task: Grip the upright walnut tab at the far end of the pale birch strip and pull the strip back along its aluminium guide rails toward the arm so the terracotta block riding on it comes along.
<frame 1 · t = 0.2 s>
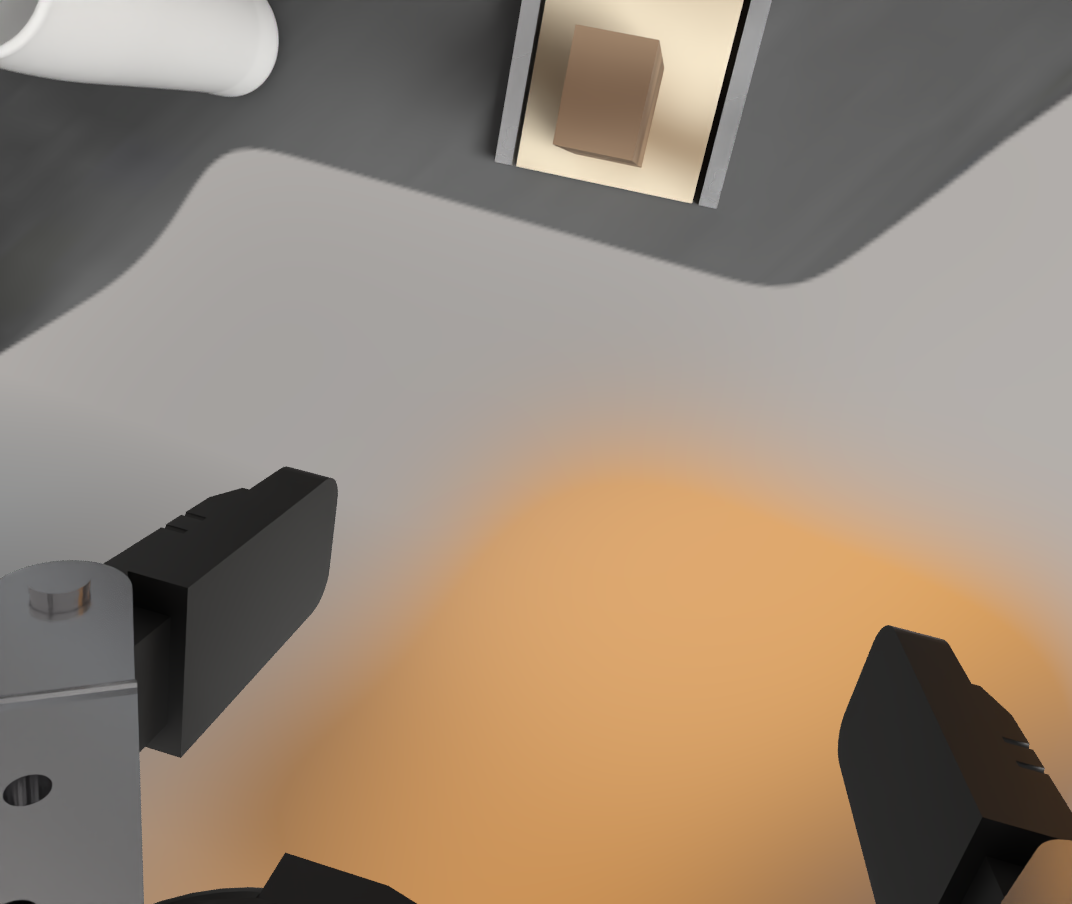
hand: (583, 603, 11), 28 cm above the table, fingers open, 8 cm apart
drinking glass: (234, 38, 37), on the table
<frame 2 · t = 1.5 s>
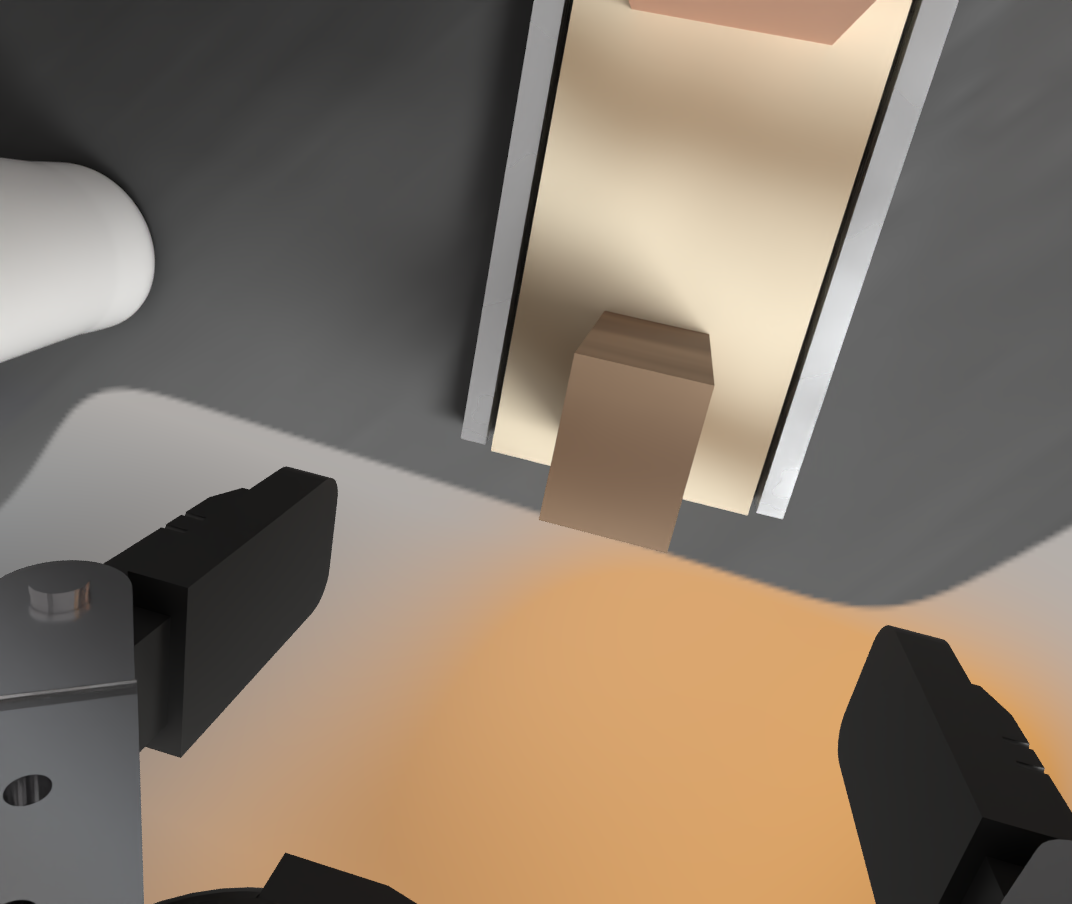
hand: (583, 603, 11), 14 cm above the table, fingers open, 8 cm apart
birch strip: (716, 81, 18), point 4 cm above the table, slide at 0.0 cm, touching terracotta block
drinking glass: (96, 246, 26), on the table
guide rails: (712, 98, 21), on the table
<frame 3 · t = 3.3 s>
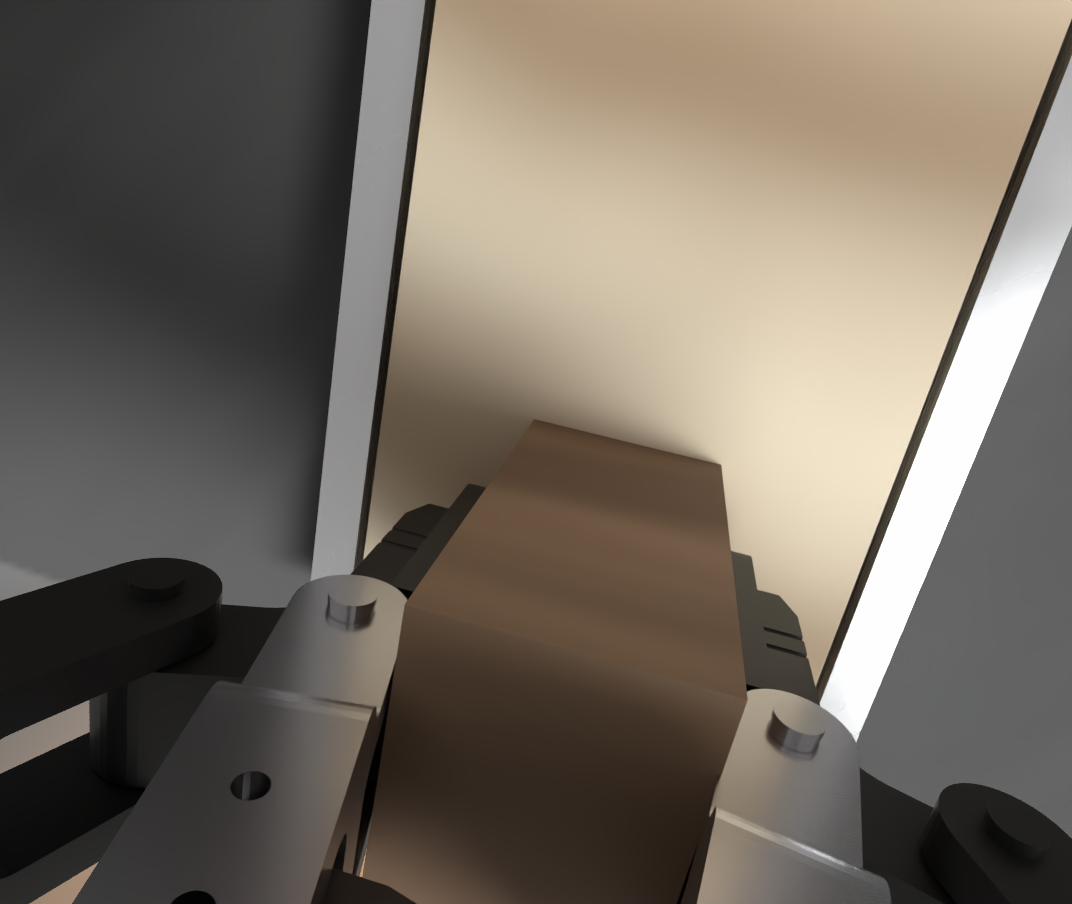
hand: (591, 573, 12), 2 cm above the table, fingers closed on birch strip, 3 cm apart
guide rails: (726, 39, 12), on the table
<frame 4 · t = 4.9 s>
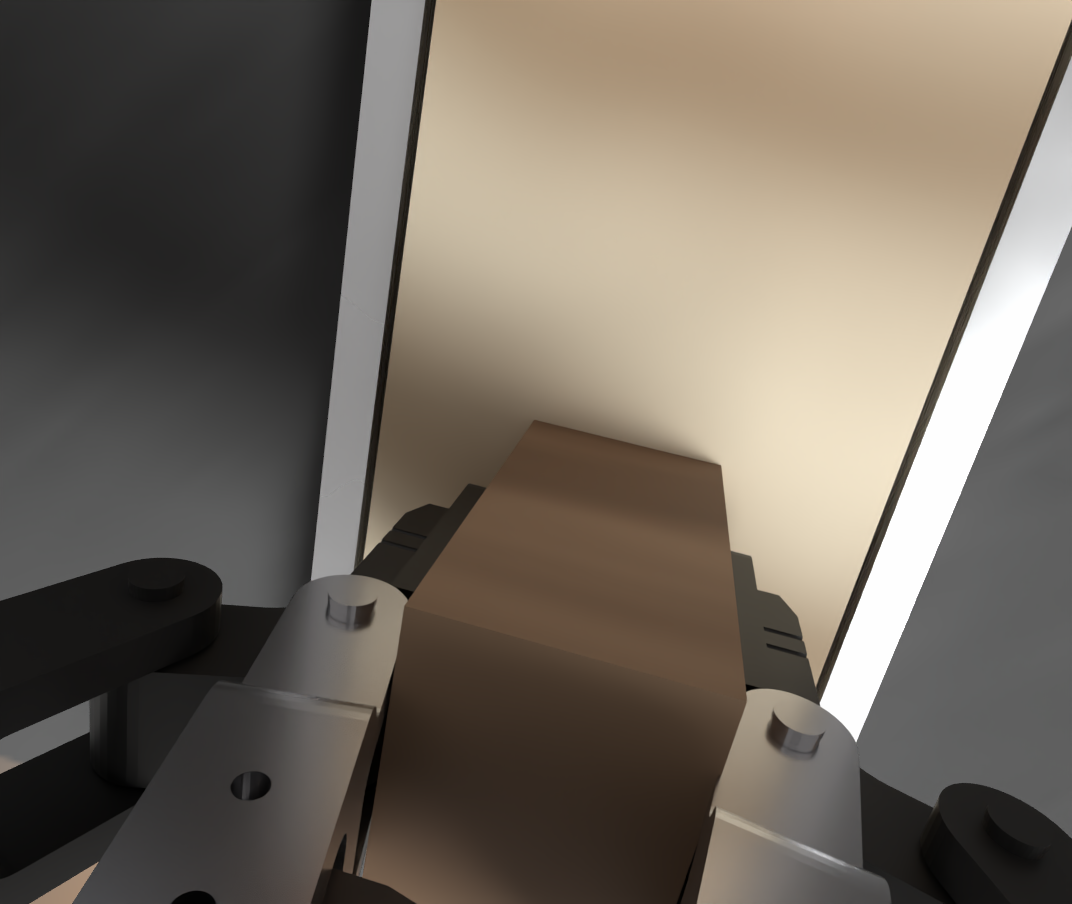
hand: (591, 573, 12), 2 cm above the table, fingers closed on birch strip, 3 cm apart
guide rails: (637, 399, 14), on the table
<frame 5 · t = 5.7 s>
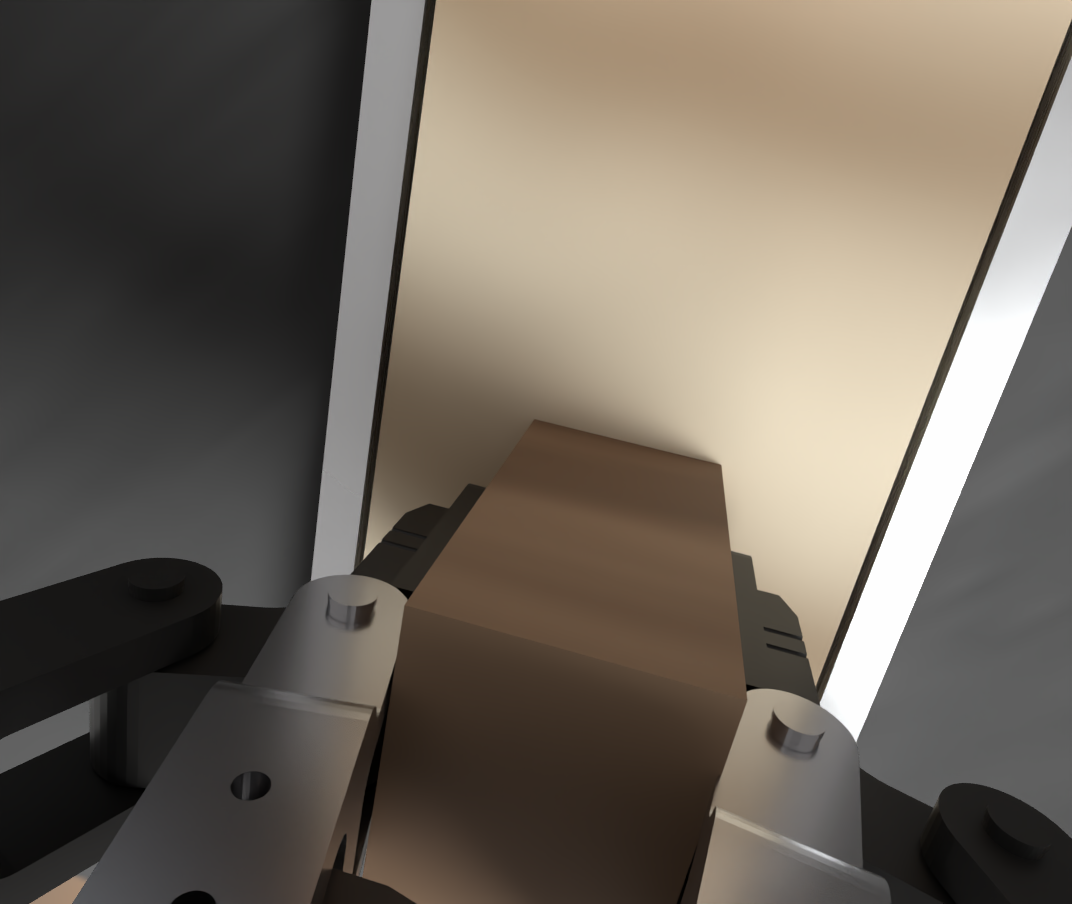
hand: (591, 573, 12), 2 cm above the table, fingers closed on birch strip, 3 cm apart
guide rails: (598, 556, 15), on the table
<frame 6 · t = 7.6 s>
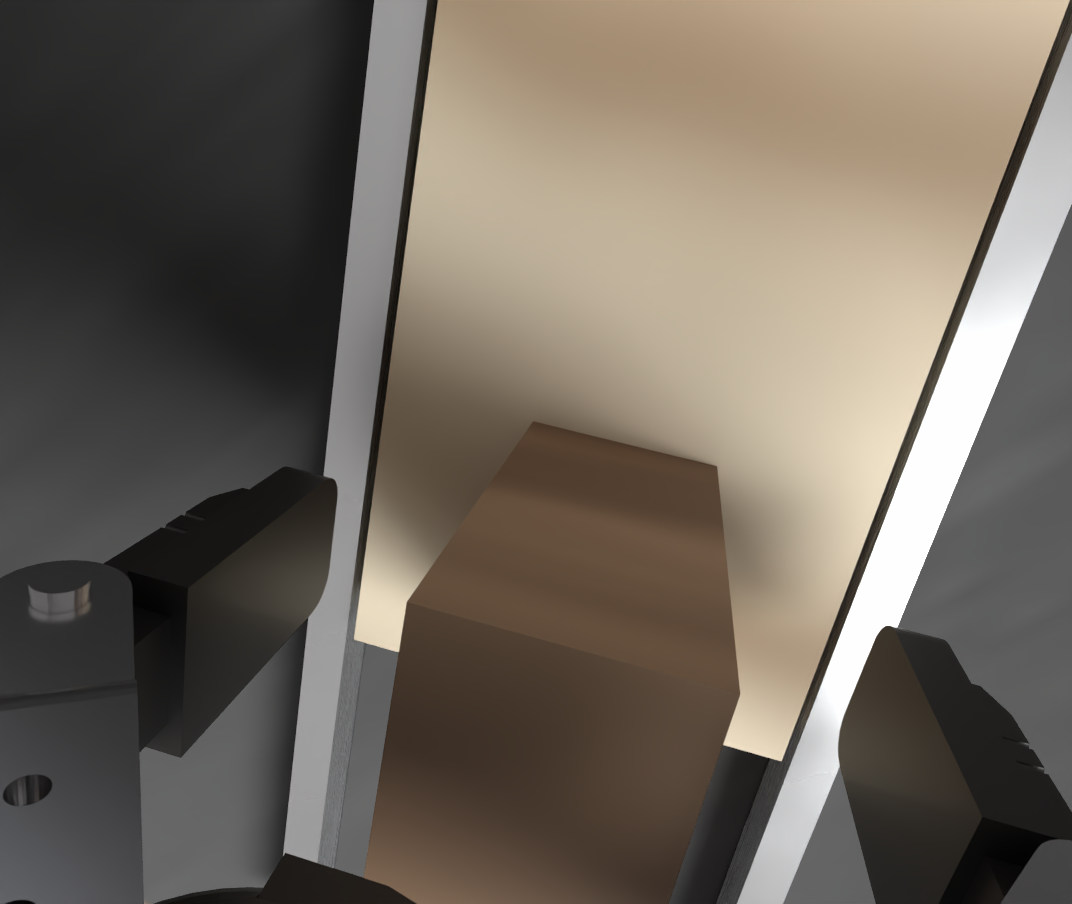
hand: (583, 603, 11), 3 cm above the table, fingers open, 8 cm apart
guide rails: (595, 561, 15), on the table
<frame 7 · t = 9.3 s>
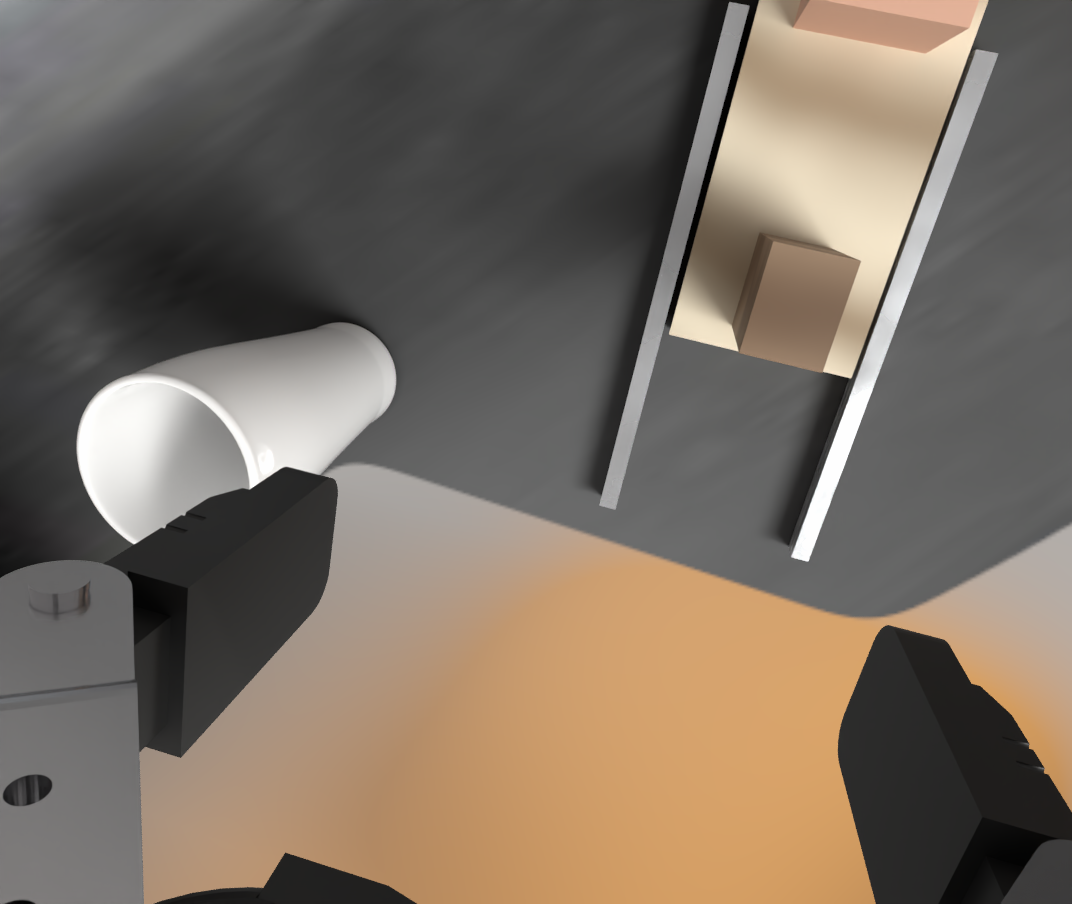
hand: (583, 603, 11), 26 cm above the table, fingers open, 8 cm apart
birch strip: (856, 75, 28), point 4 cm above the table, slide at 9.0 cm, touching terracotta block
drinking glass: (352, 371, 40), on the table
guide rails: (770, 305, 35), on the table
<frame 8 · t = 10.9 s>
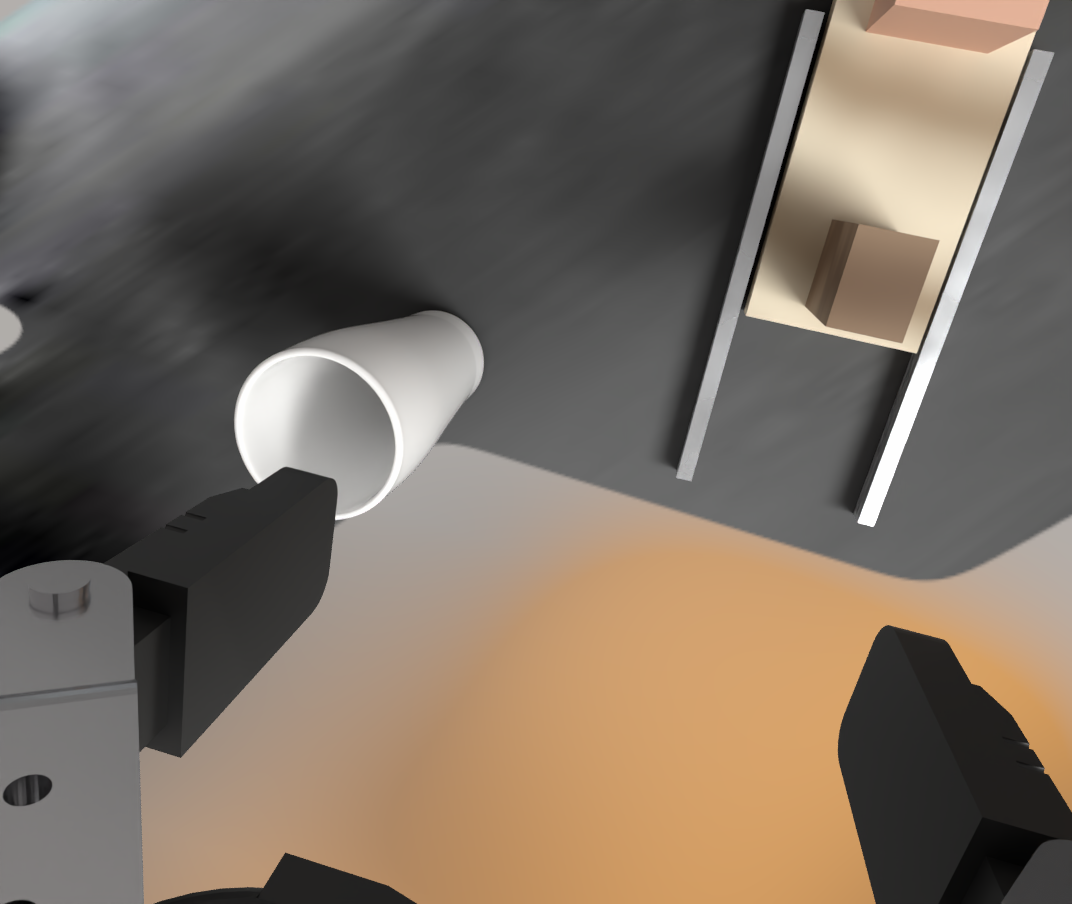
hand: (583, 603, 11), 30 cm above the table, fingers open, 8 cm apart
birch strip: (928, 74, 31), point 4 cm above the table, slide at 9.0 cm, touching terracotta block
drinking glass: (440, 357, 43), on the table
guide rails: (838, 287, 37), on the table
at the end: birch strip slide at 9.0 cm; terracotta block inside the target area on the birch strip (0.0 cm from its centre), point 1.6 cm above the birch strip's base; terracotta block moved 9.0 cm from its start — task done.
